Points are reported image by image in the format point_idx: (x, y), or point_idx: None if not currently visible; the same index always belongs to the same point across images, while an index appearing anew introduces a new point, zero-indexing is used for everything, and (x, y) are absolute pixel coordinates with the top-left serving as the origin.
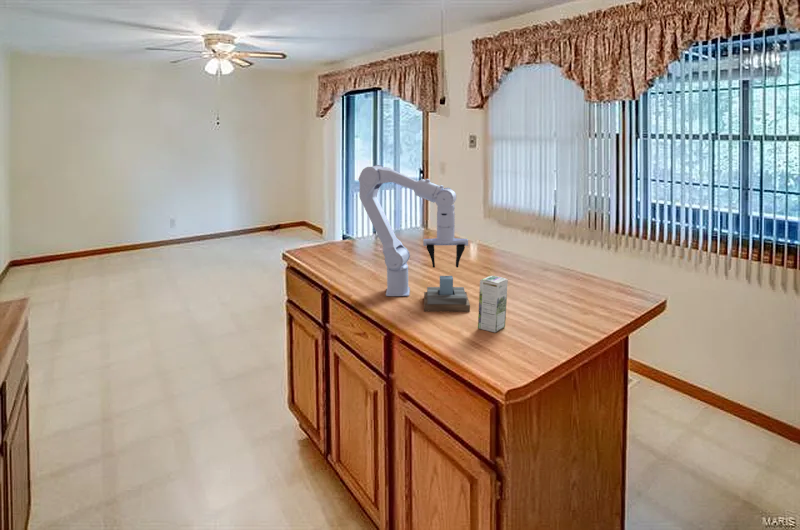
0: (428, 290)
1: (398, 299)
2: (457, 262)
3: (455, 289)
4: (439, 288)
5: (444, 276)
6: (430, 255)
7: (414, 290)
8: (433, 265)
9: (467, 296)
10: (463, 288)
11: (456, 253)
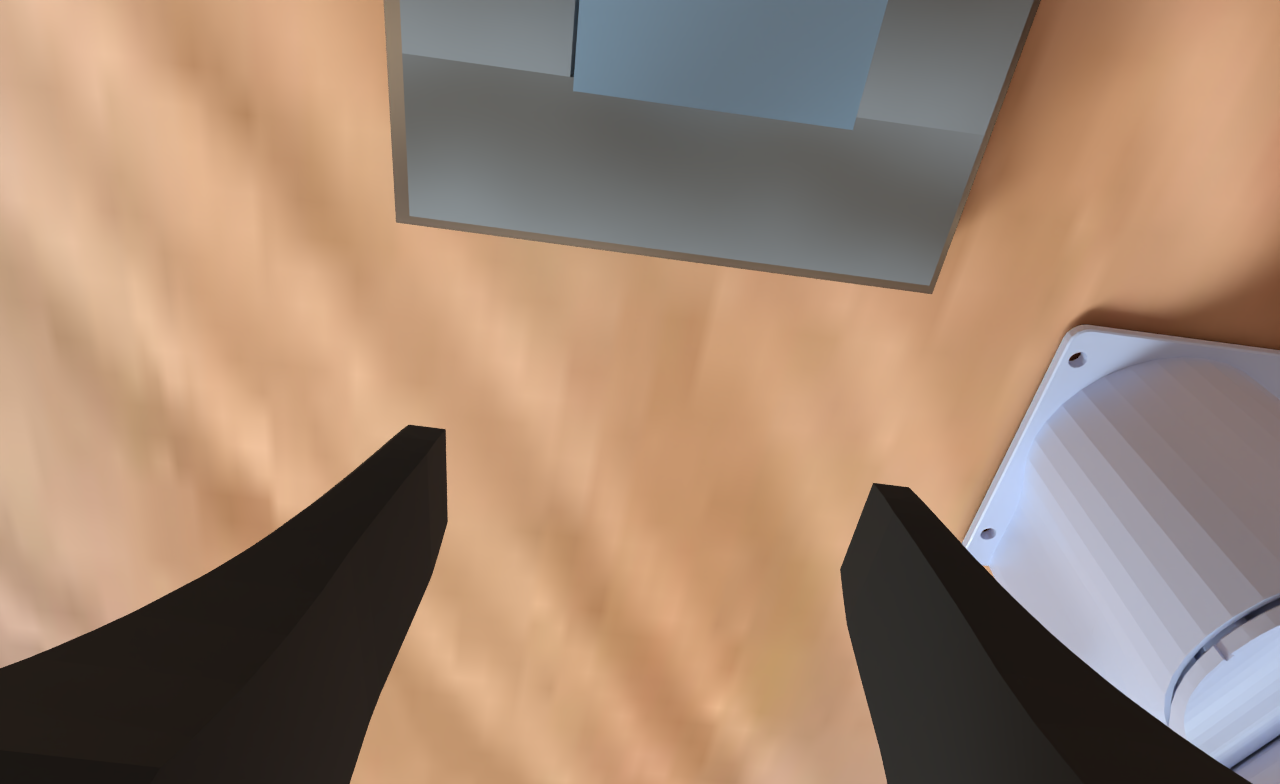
0: (974, 109)
1: (1234, 242)
2: (381, 477)
3: (541, 106)
4: (774, 192)
5: (763, 50)
6: (1109, 691)
7: (927, 500)
8: (914, 507)
9: (384, 7)
10: (414, 144)
11: (347, 759)
